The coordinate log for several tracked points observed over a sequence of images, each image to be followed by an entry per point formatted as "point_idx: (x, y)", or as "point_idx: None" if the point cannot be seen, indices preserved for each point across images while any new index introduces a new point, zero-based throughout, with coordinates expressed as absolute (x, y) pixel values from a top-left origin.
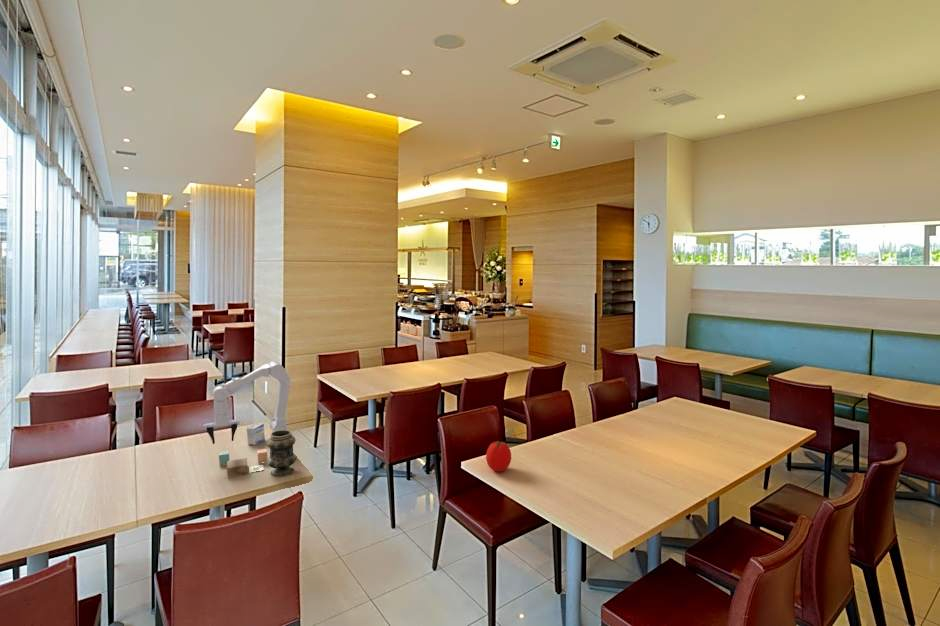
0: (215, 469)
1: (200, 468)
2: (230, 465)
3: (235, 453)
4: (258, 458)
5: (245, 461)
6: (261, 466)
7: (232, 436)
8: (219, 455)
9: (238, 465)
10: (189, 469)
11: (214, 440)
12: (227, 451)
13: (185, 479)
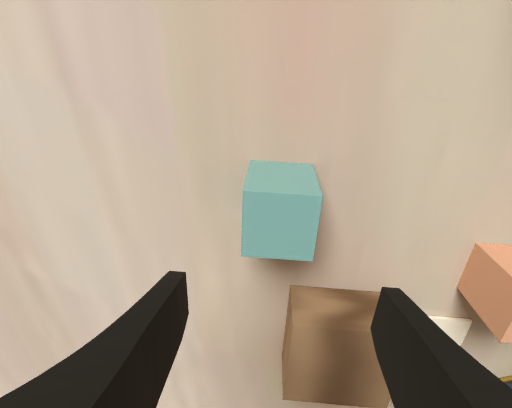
0: (227, 254)
1: (141, 201)
2: (303, 382)
3: (378, 21)
4: (479, 312)
5: None
6: (455, 334)
7: (402, 399)
8: (245, 255)
9: (342, 397)
10: (78, 185)
11: (178, 306)
12: (309, 209)
13: (96, 297)
